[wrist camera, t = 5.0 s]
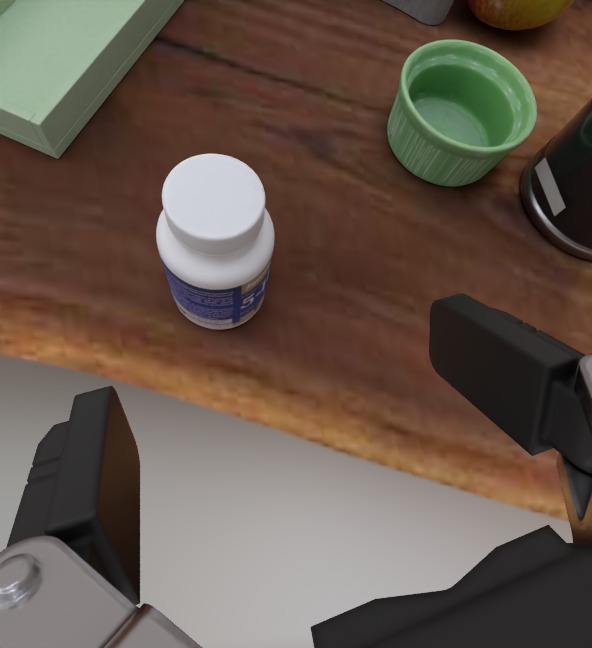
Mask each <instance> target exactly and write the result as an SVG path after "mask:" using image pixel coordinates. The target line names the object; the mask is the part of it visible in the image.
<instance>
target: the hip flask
mask: <svg viewBox="0 0 592 648" xmlns="http://www.w3.org/2000/svg"><path fill="white" fill-rule="evenodd" d="M382 1H384V2H386V3H388V4H390V5H392V6H394V7H396V8H398V9H400V10H401V11H403V12H405V13H407V14H408V15H410V16H412V17H413V18H415V19H417V20H418V21H420V22H422V23H425V24H428V25H437V24H440V23H442V22H443V21H444V20H445V19H446V17H447V14H448V12H449V10H450V8H451V6H452V4H453V2H454V0H382Z"/></svg>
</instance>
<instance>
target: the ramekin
mask: <svg viewBox="0 0 592 648" xmlns="http://www.w3.org/2000/svg"><path fill="white" fill-rule="evenodd" d="M536 119H537V104H536V100H535V96H534V94H533V91H532V89H531V87H530V85H529V83H528V81H527V80H526V79H525V77H524V76H523V75H522V74H521V72H520V71H519V70H518V69H517V68H516V67H515V66H514V65H513V64H512V63H510V62H509V61H508V60H507V59H505V58H504V57H503V56H501V55H500V54H498V53H497V52H495V51H493V50H490V49H489V48H486V47H484V46H481V45H479V44H475V43H472V42H468V41H462V40H440V41H435V42H431V43H428V44H426V45H424V46H422V47H420V48H418V49H417V50H415V51H414V52H413V53H412V54H411V55H410V56H409V57H408V59H407V60H406V62H405V64H404V66H403V68H402V71H401V75H400V80H399V89H398V92H397V95H396V98H395V101H394V104H393V107H392V109H391V112H390V116H389V119H388V125H387V134H388V141H389V144H390V146H391V149H392V151H393V153H394V154H395V156H396V157H397V159H398V160H399V161H400V162H401V163H402V165H403V166H404V167H405V168H407V169H408V170H409V171H410V172H412V173H413V174H414V175H416V176H417V177H419V178H421V179H423V180H425V181H428V182H430V183H433V184H436V185H441V186H451V187H455V186H463V185H467V184H470V183H473V182H475V181H477V180H478V179H480V178H482V177H483V176H484V175H485V174H486V173H488V172H489V171H490V170H491V169H492V168H493V167H494V166H495V165H496V164H497V163H498V162H499V161H500V160H501V159H502V158H503V157H504V156H505V155H506V154H508V153H509V152H510V151H511V150H513V149H515V148H516V147H518V146H519V145H520V144H521V143H523V142H524V141H525V140H526V139H527V138H528V136H529V135H530V134H531V132H532V130H533V128H534V126H535V123H536Z"/></svg>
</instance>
